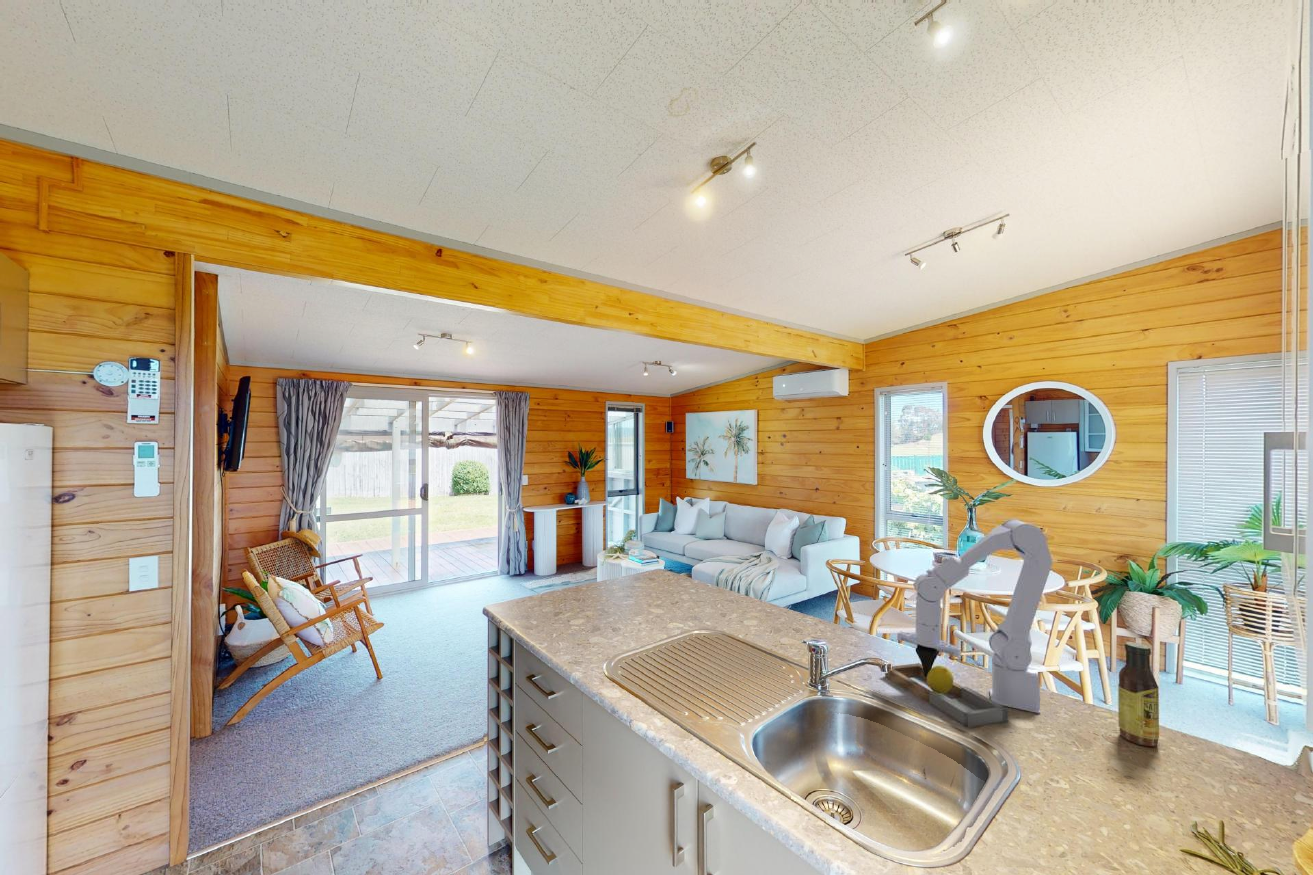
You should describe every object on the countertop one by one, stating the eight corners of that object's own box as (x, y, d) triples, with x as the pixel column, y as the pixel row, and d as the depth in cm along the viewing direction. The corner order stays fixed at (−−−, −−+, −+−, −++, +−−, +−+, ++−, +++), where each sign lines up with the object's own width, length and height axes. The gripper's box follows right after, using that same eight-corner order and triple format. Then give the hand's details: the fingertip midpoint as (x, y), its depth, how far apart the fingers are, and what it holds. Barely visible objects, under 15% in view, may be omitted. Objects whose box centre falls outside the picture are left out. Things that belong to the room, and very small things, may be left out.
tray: (929, 704, 122) (929, 691, 122) (966, 698, 124) (966, 686, 124) (968, 728, 111) (968, 714, 111) (1007, 721, 114) (1007, 708, 114)
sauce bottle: (1151, 751, 103) (1149, 653, 103) (1113, 736, 108) (1111, 642, 109) (1165, 743, 106) (1163, 647, 106) (1126, 728, 111) (1125, 637, 112)
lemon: (944, 704, 124) (957, 682, 120) (920, 692, 126) (932, 669, 123) (947, 689, 128) (959, 667, 125) (924, 677, 131) (934, 655, 127)
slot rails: (885, 676, 137) (885, 667, 137) (919, 672, 139) (919, 663, 139) (929, 704, 122) (929, 693, 122) (966, 698, 124) (966, 688, 124)
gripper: (965, 627, 127) (964, 681, 126) (905, 612, 137) (904, 662, 137) (955, 633, 122) (955, 690, 122) (894, 617, 133) (893, 669, 132)
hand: (927, 676), depth 129 cm, fingers closed
